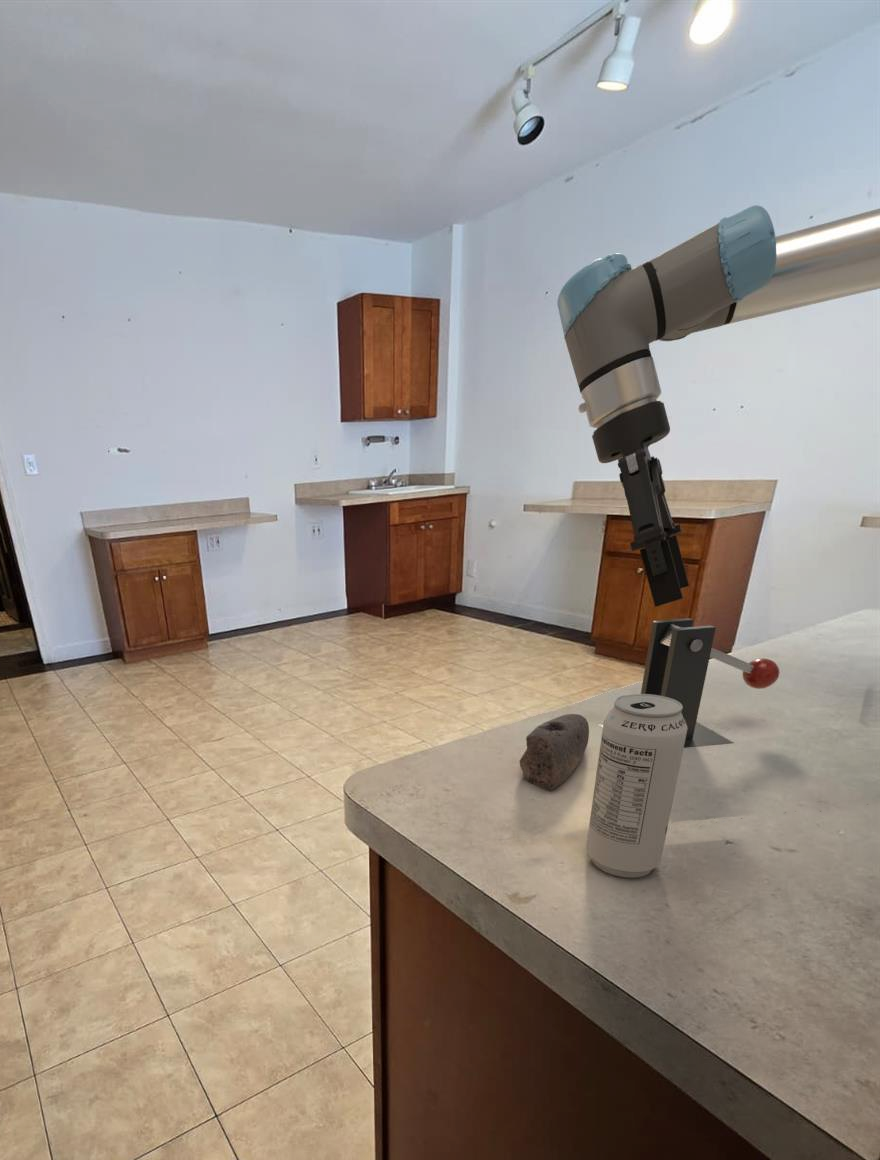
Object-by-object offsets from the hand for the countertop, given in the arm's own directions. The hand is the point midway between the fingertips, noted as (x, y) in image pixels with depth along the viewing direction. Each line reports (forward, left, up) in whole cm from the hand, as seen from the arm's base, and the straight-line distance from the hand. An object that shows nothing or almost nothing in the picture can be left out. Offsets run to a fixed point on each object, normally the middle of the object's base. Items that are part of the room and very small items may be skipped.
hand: (673, 595), depth 76 cm
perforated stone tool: (+17, +10, -17) cm, 26 cm away
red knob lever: (-4, +4, -9) cm, 10 cm away
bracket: (+1, +4, -17) cm, 18 cm away
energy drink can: (+19, +28, -17) cm, 38 cm away
